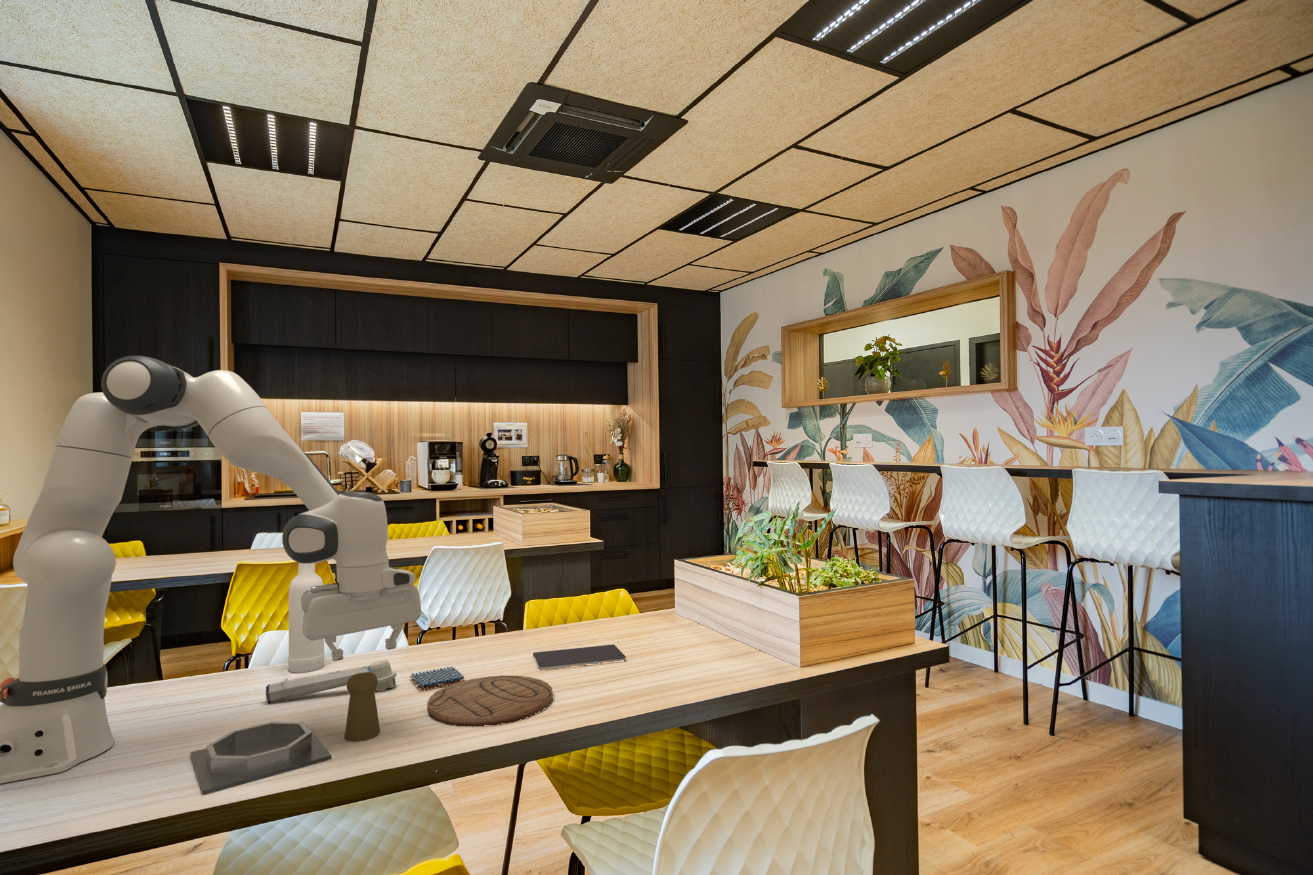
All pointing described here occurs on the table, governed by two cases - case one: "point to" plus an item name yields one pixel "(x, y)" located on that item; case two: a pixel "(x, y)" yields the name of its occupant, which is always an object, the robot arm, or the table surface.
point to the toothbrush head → (328, 682)
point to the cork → (362, 708)
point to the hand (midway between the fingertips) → (364, 654)
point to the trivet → (489, 700)
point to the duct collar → (256, 754)
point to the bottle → (301, 649)
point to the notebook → (578, 656)
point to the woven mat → (436, 678)
